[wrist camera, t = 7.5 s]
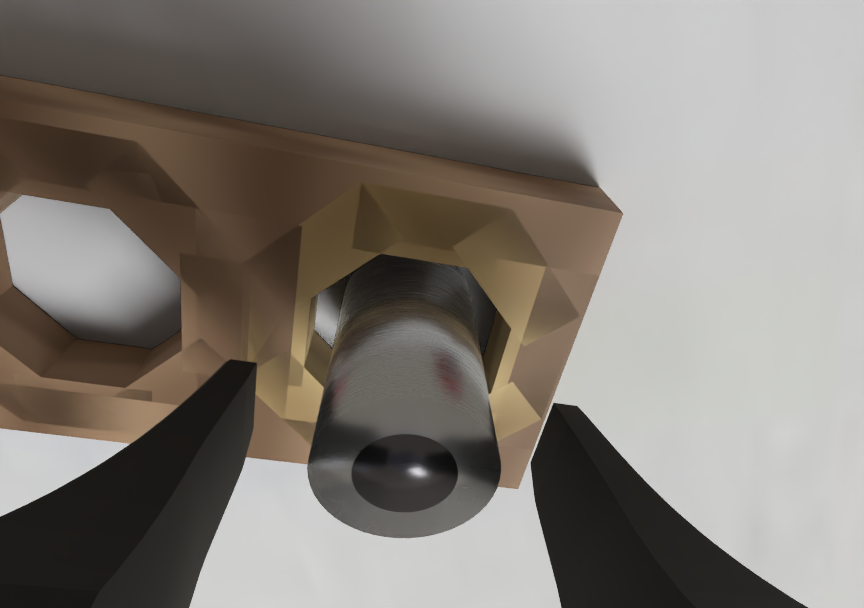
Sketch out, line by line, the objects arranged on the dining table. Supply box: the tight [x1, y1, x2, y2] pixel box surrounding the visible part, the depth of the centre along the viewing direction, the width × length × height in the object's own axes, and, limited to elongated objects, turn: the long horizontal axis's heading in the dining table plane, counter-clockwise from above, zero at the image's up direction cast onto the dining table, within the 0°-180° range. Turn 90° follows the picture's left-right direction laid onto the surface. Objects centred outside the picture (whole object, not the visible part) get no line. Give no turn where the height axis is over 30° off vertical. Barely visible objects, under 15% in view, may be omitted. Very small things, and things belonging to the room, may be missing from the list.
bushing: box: [307, 254, 501, 538], centre depth 15 cm, size 4×4×7 cm
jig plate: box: [0, 75, 623, 489], centre depth 16 cm, size 18×10×2 cm, turn 79°
